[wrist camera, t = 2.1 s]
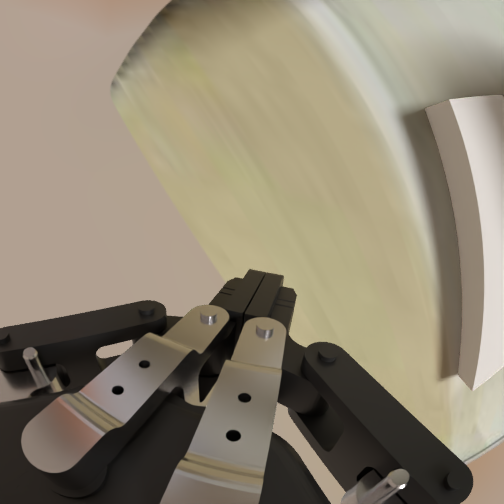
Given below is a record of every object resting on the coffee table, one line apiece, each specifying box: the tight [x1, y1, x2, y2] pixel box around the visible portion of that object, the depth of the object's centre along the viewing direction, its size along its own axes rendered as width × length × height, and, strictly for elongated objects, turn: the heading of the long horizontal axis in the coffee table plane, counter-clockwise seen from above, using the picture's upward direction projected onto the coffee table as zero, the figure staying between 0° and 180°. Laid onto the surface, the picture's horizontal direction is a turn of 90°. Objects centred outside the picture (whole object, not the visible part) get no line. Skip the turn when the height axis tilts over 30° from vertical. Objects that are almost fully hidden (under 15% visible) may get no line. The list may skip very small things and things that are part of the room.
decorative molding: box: [425, 95, 504, 391], centre depth 21 cm, size 34×5×10 cm
